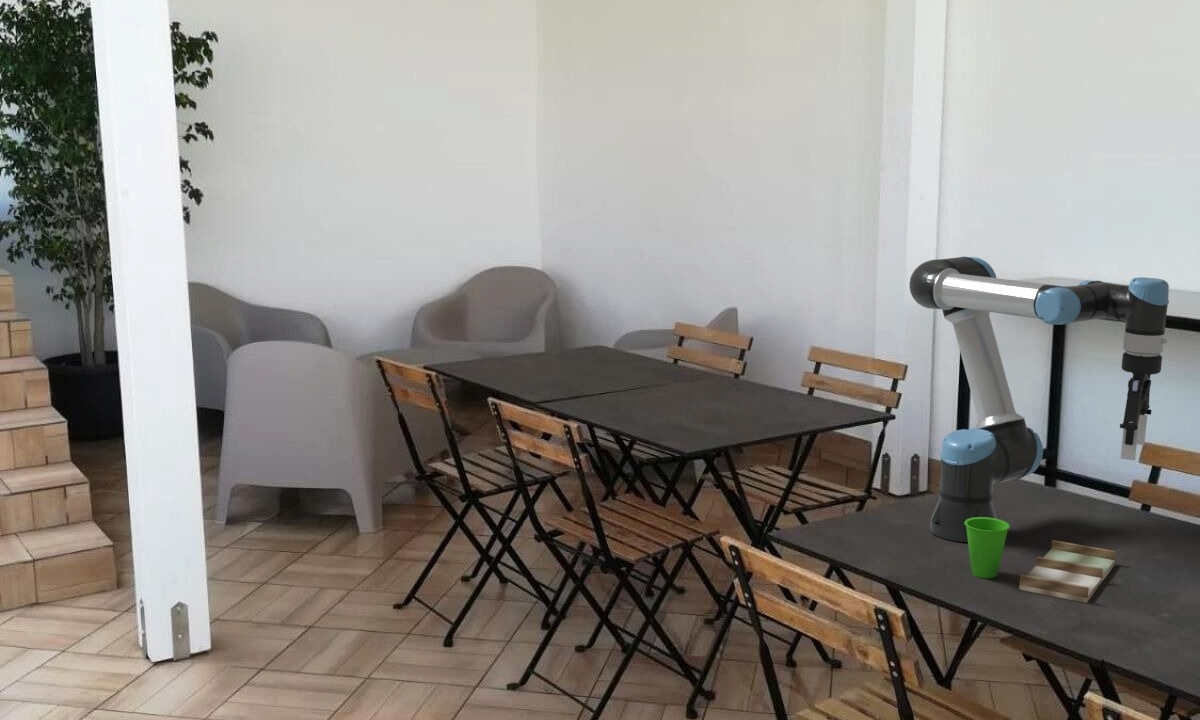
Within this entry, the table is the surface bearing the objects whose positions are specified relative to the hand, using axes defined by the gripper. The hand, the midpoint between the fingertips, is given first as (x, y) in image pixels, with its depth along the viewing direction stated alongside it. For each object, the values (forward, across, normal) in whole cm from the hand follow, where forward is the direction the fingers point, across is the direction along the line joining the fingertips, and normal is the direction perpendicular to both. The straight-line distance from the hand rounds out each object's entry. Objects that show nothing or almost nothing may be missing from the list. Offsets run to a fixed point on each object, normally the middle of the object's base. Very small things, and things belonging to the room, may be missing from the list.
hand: (1132, 451), depth 254 cm
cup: (+25, -23, +23) cm, 41 cm away
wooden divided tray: (+24, -16, +8) cm, 30 cm away
